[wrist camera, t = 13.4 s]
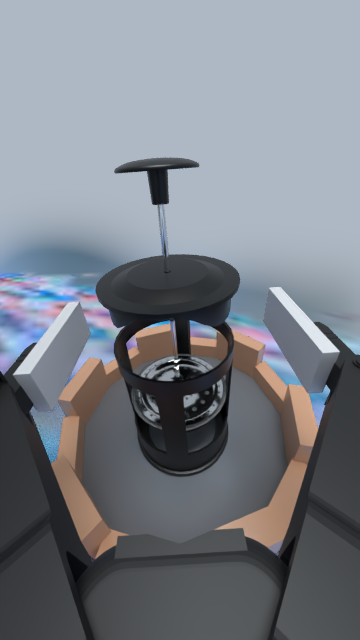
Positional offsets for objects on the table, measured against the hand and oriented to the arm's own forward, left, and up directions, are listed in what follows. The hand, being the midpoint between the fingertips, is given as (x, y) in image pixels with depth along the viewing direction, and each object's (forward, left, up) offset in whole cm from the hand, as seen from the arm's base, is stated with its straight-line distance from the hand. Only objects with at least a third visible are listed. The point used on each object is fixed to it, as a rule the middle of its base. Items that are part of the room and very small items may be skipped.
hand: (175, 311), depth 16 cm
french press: (0, 0, -14) cm, 14 cm away
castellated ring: (0, +1, -15) cm, 15 cm away
